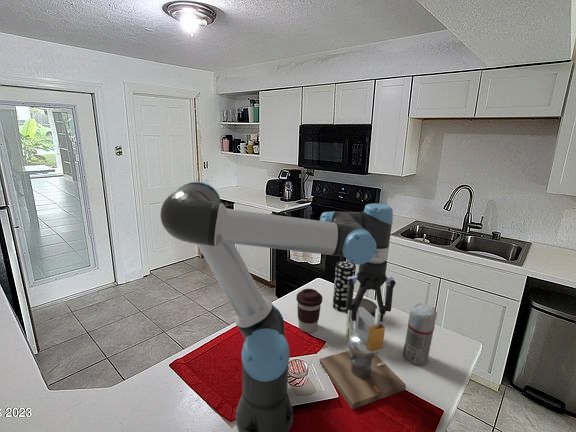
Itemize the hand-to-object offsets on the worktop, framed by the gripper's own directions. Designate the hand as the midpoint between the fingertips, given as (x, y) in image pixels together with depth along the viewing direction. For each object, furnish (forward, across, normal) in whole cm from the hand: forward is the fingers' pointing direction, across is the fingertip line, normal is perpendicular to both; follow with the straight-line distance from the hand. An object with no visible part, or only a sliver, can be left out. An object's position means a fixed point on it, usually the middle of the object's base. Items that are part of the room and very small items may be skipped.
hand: (365, 329), depth 96 cm
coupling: (+7, 0, 0) cm, 7 cm away
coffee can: (+17, +3, +19) cm, 26 cm away
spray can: (+17, +21, +10) cm, 29 cm away
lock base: (+17, 0, 0) cm, 17 cm away
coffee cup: (+17, -16, +25) cm, 34 cm away
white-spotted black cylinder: (+17, 0, +41) cm, 44 cm away
